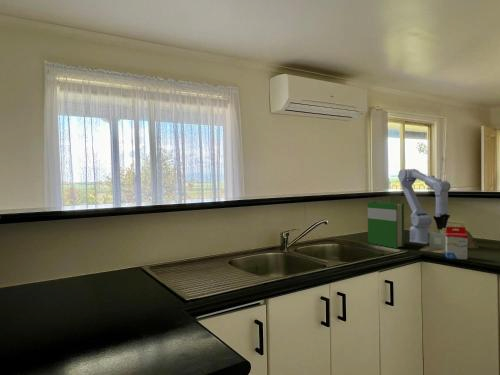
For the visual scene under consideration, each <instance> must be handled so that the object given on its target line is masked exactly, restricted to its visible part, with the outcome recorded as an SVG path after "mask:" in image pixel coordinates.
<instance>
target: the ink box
mask: <svg viewBox="0 0 500 375" xmlns="http://www.w3.org/2000/svg"><path fill="white" fill-rule="evenodd" d="M465 230H466V227H465V226H446V228H445V234H446V253H445V257H446V259H451V260H468V248H467V243H468V235H467V234H465Z"/></svg>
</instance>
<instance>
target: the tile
mask: <svg viewBox="0 0 500 375" xmlns="http://www.w3.org/2000/svg"><path fill="white" fill-rule="evenodd" d="M428 241H429V243H428V244H429V245H428V246H429V248H437V249H445V250H446V233H441V232H440V233H439V232H431V231H430V232H428Z"/></svg>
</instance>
